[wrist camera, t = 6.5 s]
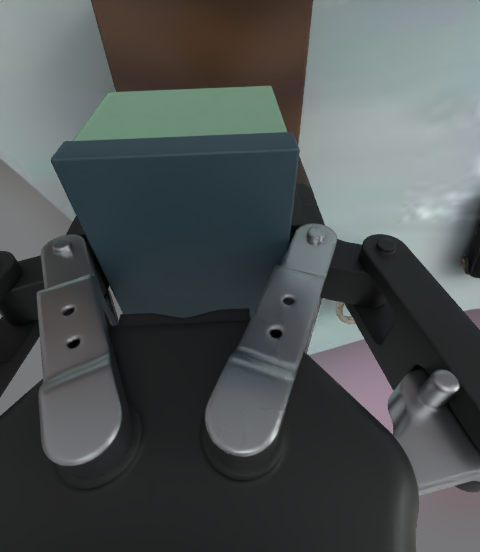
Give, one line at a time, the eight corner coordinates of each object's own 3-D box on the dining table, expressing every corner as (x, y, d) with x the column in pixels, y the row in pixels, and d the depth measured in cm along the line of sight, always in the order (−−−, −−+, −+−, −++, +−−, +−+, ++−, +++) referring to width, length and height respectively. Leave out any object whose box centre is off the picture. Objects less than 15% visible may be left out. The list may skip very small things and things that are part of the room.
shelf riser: (108, -11, 23) (35, 19, 14) (300, -19, 24) (354, 5, 14) (167, 230, 39) (150, 320, 30) (281, 224, 39) (301, 312, 30)
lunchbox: (103, 88, 11) (48, 159, 7) (274, 81, 11) (300, 148, 7) (154, 258, 16) (136, 343, 13) (266, 252, 16) (279, 336, 13)
